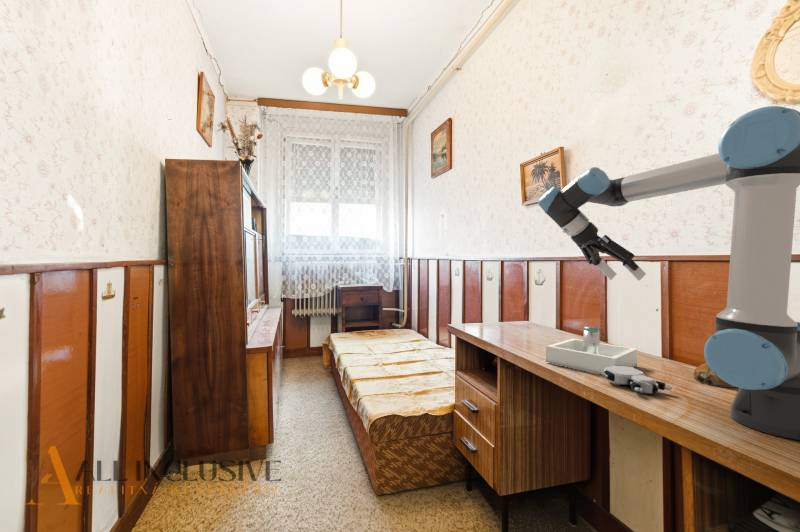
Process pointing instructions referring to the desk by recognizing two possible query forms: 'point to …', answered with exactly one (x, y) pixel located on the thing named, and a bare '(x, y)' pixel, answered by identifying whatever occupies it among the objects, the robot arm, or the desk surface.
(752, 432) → the desk surface
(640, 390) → the robot toy
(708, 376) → the bread roll
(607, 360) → the bin
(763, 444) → the desk surface
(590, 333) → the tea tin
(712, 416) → the desk surface
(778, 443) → the desk surface
